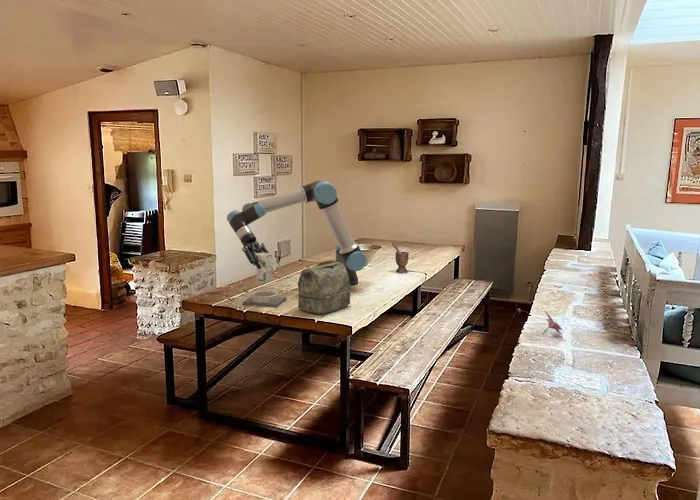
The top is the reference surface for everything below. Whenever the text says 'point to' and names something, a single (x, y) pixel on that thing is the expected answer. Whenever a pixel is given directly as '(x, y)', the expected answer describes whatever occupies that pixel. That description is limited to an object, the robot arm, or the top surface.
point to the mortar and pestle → (401, 259)
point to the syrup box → (265, 267)
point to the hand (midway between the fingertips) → (269, 272)
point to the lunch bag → (324, 288)
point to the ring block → (265, 299)
